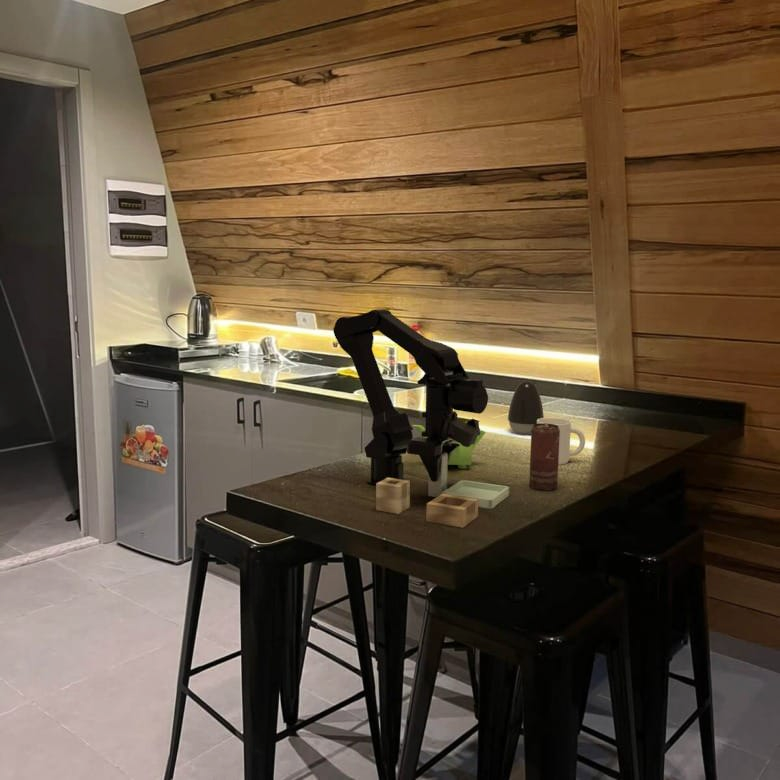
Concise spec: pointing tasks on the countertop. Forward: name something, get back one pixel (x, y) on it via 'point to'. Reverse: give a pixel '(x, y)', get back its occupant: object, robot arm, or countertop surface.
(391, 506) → the beech block
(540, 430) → the can
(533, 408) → the dark tapered diffuser
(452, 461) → the kettle
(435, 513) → the oak block
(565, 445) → the mug
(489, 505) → the tray
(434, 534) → the countertop surface
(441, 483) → the grey wood bar
